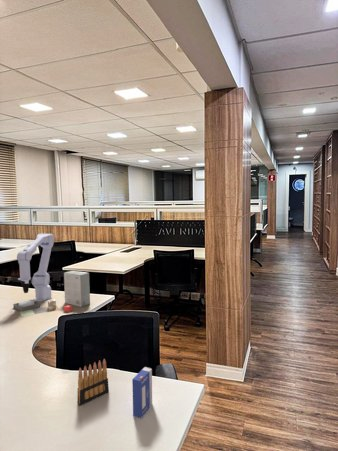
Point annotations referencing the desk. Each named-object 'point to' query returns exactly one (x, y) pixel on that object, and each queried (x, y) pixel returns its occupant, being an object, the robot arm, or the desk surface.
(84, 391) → the ammunition clip
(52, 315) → the desk surface
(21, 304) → the dome button
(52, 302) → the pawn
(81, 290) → the hard drive box
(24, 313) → the game mat
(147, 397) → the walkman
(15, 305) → the button housing
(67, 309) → the red die
